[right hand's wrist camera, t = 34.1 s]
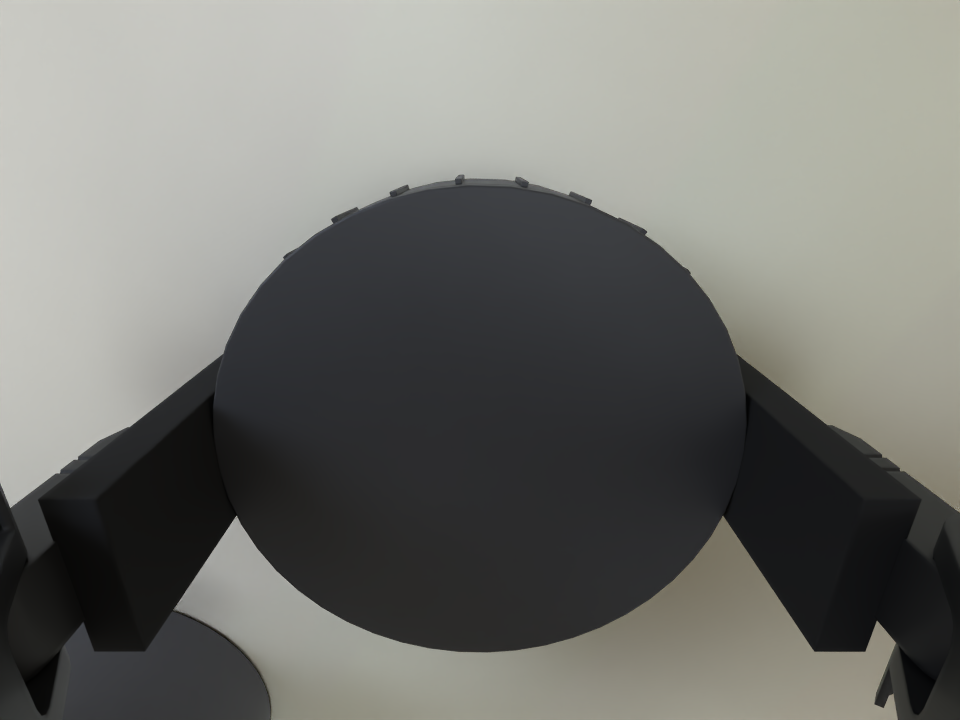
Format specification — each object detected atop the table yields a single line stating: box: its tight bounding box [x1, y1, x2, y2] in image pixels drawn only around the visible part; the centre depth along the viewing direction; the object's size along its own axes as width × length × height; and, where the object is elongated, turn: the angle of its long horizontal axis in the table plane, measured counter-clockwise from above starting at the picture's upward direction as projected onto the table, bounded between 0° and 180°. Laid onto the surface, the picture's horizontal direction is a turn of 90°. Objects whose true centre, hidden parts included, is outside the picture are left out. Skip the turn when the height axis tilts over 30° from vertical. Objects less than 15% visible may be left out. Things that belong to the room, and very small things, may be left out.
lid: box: [213, 175, 747, 652], centre depth 11 cm, size 10×10×2 cm
